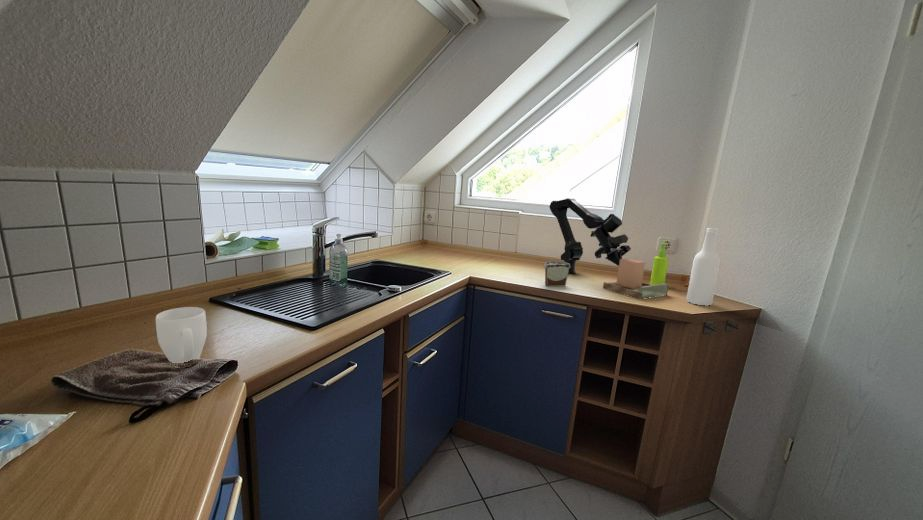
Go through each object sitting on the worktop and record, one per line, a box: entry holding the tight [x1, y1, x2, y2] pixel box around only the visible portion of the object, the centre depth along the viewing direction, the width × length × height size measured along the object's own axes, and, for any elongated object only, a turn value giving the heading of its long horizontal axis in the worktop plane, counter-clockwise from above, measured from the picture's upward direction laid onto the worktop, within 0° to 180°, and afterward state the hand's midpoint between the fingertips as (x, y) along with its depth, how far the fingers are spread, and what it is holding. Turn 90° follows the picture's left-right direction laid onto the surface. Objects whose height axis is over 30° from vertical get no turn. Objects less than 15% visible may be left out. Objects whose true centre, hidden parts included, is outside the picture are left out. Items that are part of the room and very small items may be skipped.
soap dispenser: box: [649, 242, 669, 285], centre depth 174 cm, size 6×7×20 cm
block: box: [616, 258, 646, 288], centre depth 163 cm, size 8×6×11 cm
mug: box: [155, 306, 208, 363], centre depth 77 cm, size 12×8×11 cm
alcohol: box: [686, 227, 721, 306], centre depth 146 cm, size 9×9×30 cm
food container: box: [543, 260, 571, 287], centre depth 165 cm, size 12×6×10 cm, turn 108°
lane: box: [602, 281, 669, 300], centre depth 161 cm, size 18×19×5 cm
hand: (622, 267), depth 166 cm, fingers closed
